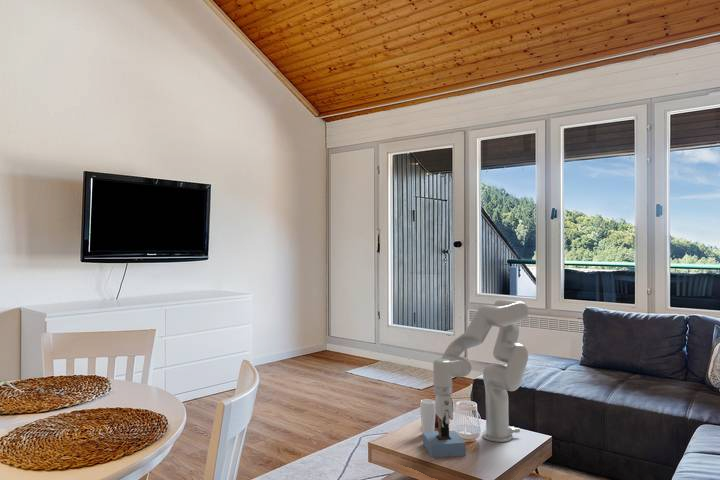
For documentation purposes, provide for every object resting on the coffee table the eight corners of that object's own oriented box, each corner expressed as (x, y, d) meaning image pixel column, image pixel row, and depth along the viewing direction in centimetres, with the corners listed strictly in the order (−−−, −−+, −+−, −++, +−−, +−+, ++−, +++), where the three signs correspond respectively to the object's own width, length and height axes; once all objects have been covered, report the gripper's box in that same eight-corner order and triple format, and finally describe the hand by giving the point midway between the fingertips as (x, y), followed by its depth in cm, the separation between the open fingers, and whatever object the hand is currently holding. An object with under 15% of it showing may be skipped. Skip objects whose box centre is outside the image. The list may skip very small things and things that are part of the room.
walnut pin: (446, 442, 217) (446, 413, 217) (449, 446, 213) (449, 416, 213) (437, 443, 217) (437, 414, 217) (440, 447, 213) (439, 417, 213)
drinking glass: (432, 431, 236) (431, 398, 236) (438, 436, 229) (438, 402, 229) (418, 433, 234) (417, 399, 234) (424, 438, 227) (424, 404, 227)
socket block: (455, 442, 223) (454, 430, 223) (465, 455, 209) (465, 442, 209) (422, 444, 221) (422, 432, 221) (431, 457, 207) (431, 444, 207)
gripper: (458, 395, 207) (458, 441, 207) (445, 384, 224) (446, 427, 224) (439, 396, 206) (440, 442, 206) (428, 385, 223) (429, 428, 223)
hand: (443, 434), depth 215 cm, fingers closed on walnut pin, 3 cm apart
